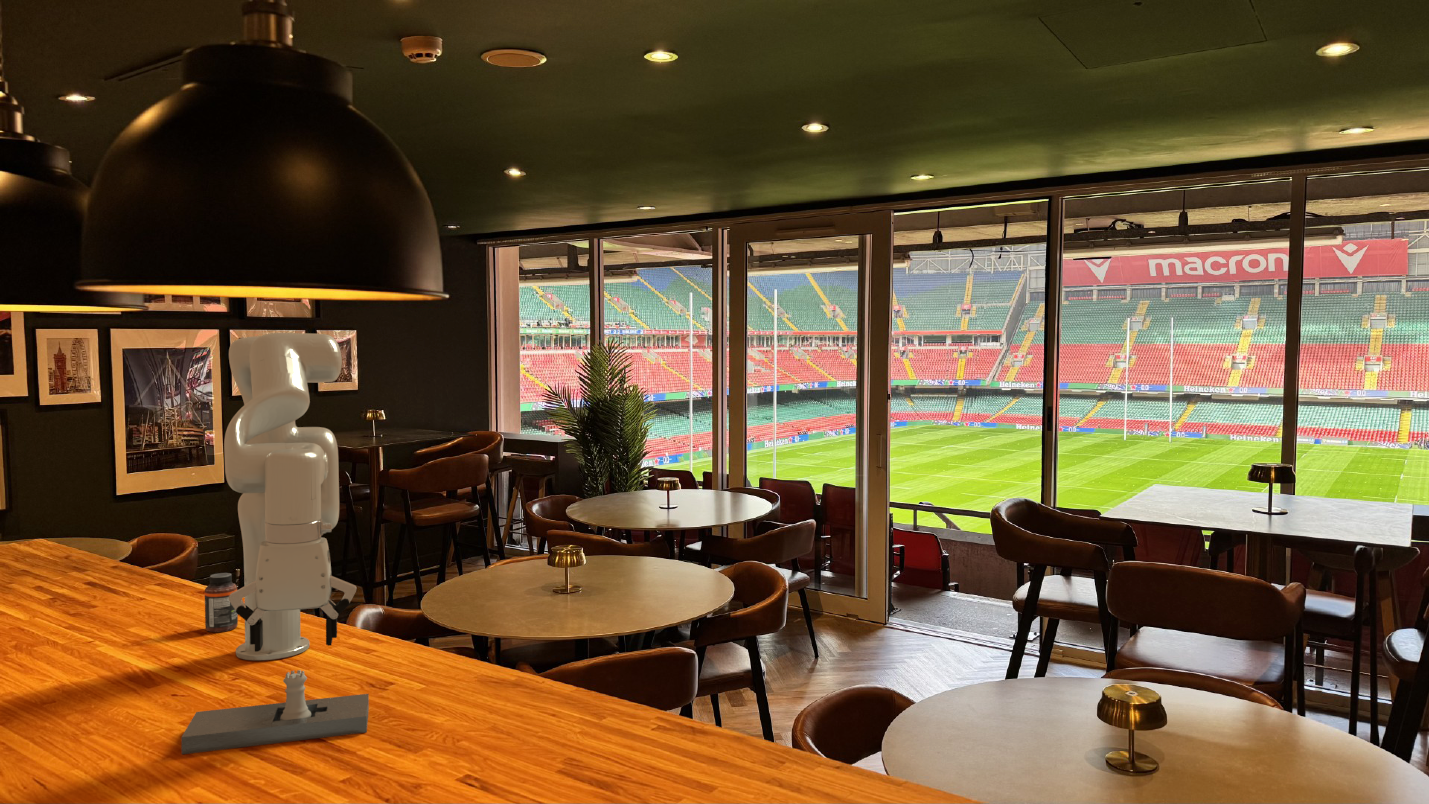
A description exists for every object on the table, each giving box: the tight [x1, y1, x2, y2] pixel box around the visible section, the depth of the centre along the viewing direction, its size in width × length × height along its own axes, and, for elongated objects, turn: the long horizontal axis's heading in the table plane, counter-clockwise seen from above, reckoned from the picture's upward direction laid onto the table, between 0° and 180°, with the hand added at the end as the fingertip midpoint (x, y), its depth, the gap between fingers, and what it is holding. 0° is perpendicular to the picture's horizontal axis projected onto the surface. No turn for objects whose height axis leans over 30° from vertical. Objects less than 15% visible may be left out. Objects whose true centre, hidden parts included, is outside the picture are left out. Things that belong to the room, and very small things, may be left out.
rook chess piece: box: [280, 669, 311, 721], centre depth 135 cm, size 4×4×8 cm
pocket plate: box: [180, 693, 370, 755], centre depth 135 cm, size 10×24×2 cm, turn 109°
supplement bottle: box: [204, 572, 239, 633], centre depth 188 cm, size 6×6×11 cm
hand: (294, 645), depth 136 cm, fingers open, 9 cm apart
